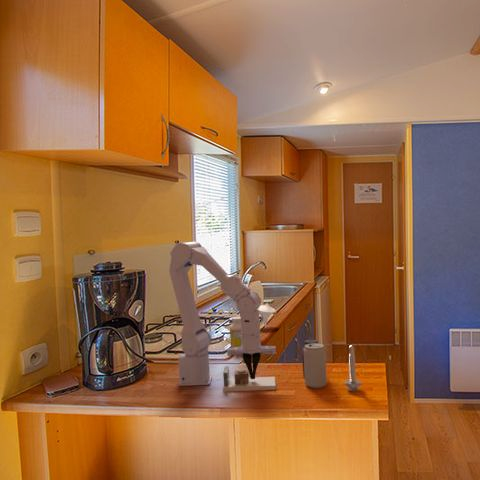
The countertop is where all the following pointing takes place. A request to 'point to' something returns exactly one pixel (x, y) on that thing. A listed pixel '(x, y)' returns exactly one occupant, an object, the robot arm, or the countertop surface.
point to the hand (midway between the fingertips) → (252, 378)
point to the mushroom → (266, 312)
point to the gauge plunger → (241, 377)
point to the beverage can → (315, 365)
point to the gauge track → (252, 384)
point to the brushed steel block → (226, 375)
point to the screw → (352, 372)
